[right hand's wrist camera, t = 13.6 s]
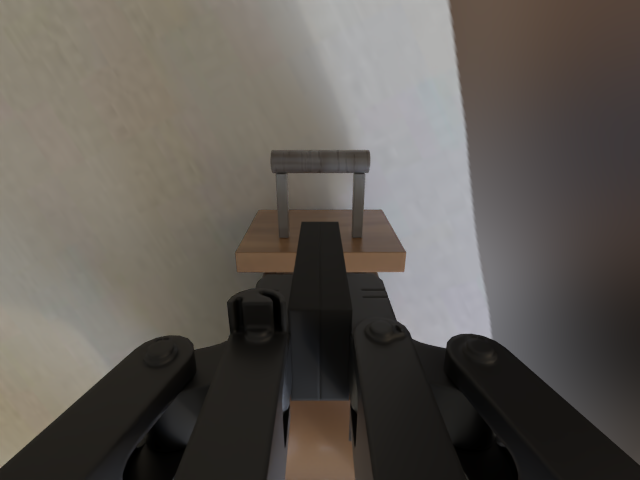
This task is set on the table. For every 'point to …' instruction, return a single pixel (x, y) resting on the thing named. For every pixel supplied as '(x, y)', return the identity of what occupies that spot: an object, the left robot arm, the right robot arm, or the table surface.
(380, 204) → the table surface
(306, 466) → the cabinet
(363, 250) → the drawer
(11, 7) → the table surface
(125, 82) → the table surface
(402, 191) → the table surface
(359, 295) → the right robot arm
